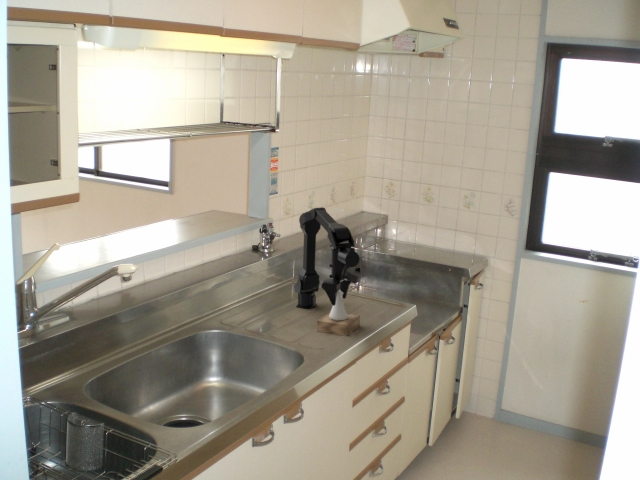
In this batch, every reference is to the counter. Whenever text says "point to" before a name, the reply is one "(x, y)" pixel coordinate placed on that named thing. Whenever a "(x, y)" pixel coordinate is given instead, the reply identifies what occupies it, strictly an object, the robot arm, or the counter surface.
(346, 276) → the robot arm
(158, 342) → the counter surface
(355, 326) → the walnut block
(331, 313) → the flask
